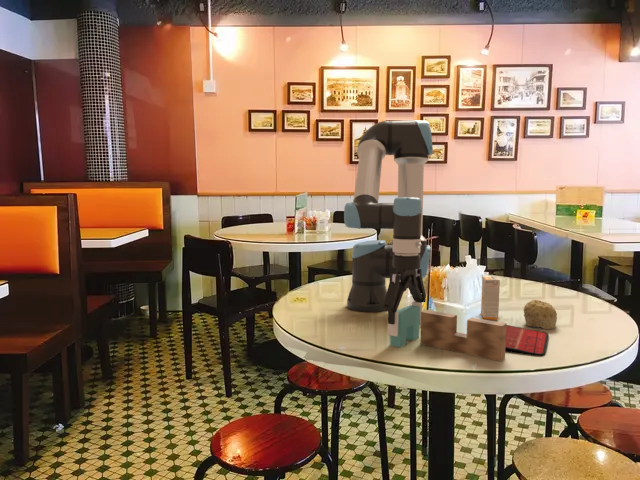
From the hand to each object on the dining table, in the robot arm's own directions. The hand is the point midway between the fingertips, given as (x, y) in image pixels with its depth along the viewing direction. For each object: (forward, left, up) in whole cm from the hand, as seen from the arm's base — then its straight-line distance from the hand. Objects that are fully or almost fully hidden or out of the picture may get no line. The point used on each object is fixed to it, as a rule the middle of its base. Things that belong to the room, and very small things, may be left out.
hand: (405, 329), depth 142 cm
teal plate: (0, 0, -3) cm, 3 cm away
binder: (+24, +19, -4) cm, 31 cm away
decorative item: (+25, +39, -4) cm, 47 cm away
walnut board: (+15, +2, -3) cm, 16 cm away
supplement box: (+10, +40, -4) cm, 41 cm away
